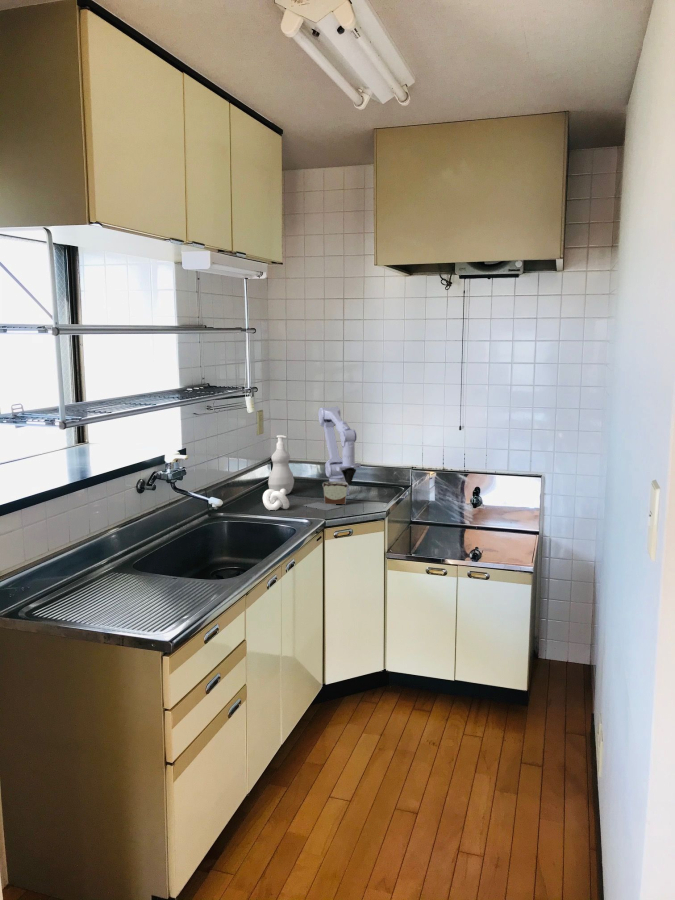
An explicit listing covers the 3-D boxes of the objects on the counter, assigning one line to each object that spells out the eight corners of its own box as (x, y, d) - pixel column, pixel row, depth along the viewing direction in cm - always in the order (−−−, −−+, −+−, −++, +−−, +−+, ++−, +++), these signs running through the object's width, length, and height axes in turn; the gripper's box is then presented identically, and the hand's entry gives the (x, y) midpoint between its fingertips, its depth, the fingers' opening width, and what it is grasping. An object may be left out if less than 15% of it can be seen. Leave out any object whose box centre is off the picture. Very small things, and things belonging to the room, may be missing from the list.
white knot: (268, 506, 329) (267, 486, 328) (293, 506, 327) (293, 487, 325) (261, 511, 318) (260, 491, 317) (287, 511, 316) (286, 491, 314)
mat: (317, 502, 334) (317, 502, 334) (342, 507, 323) (342, 506, 323) (302, 505, 328) (302, 505, 328) (327, 510, 317) (327, 510, 316)
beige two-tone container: (349, 502, 334) (349, 481, 333) (348, 505, 328) (348, 483, 327) (323, 502, 335) (323, 480, 334) (321, 504, 329) (322, 482, 328)
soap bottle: (283, 497, 348) (282, 437, 344) (262, 496, 353) (261, 436, 349) (299, 491, 363) (298, 434, 359) (279, 490, 368) (278, 433, 364)
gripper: (343, 458, 327) (344, 487, 329) (365, 454, 337) (365, 483, 339) (332, 456, 332) (333, 485, 334) (354, 453, 342) (354, 481, 344)
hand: (348, 484), depth 337 cm, fingers closed
